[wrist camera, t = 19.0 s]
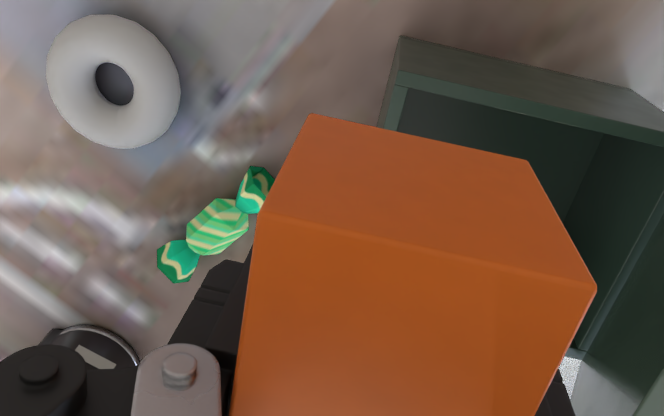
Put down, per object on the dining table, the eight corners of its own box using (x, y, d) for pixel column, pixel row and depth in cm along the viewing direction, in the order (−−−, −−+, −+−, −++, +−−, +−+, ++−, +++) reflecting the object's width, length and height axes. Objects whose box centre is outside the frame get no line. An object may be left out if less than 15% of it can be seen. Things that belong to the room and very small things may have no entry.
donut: (136, -16, 39) (34, 50, 42) (114, -12, 36) (6, 59, 39) (212, 107, 43) (113, 160, 46) (198, 120, 40) (93, 176, 43)
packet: (258, 396, 15) (205, 569, 11) (309, 110, 11) (256, 211, 7) (424, 433, 15) (432, 621, 11) (529, 159, 11) (602, 288, 7)
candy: (197, 280, 49) (163, 285, 46) (181, 248, 50) (146, 250, 46) (291, 202, 45) (262, 201, 41) (272, 168, 46) (241, 164, 42)
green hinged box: (351, 224, 46) (337, 302, 36) (399, 34, 39) (398, 69, 29) (546, 270, 46) (584, 361, 36) (631, 89, 39) (706, 141, 29)
